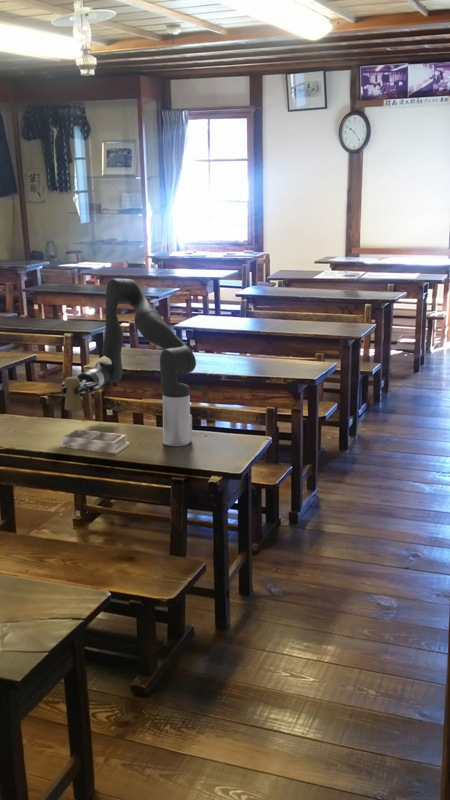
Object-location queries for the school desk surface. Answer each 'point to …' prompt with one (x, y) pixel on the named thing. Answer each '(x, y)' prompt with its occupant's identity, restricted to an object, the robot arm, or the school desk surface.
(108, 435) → the white divided tray
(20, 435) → the school desk surface
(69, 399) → the cork
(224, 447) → the school desk surface
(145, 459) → the school desk surface
